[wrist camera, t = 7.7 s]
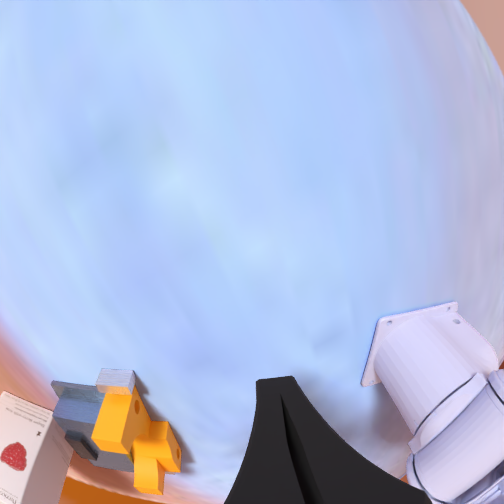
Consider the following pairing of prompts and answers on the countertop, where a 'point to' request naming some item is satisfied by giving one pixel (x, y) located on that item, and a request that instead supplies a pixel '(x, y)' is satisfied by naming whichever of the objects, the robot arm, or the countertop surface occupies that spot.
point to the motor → (92, 416)
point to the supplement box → (31, 453)
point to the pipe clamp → (138, 440)
